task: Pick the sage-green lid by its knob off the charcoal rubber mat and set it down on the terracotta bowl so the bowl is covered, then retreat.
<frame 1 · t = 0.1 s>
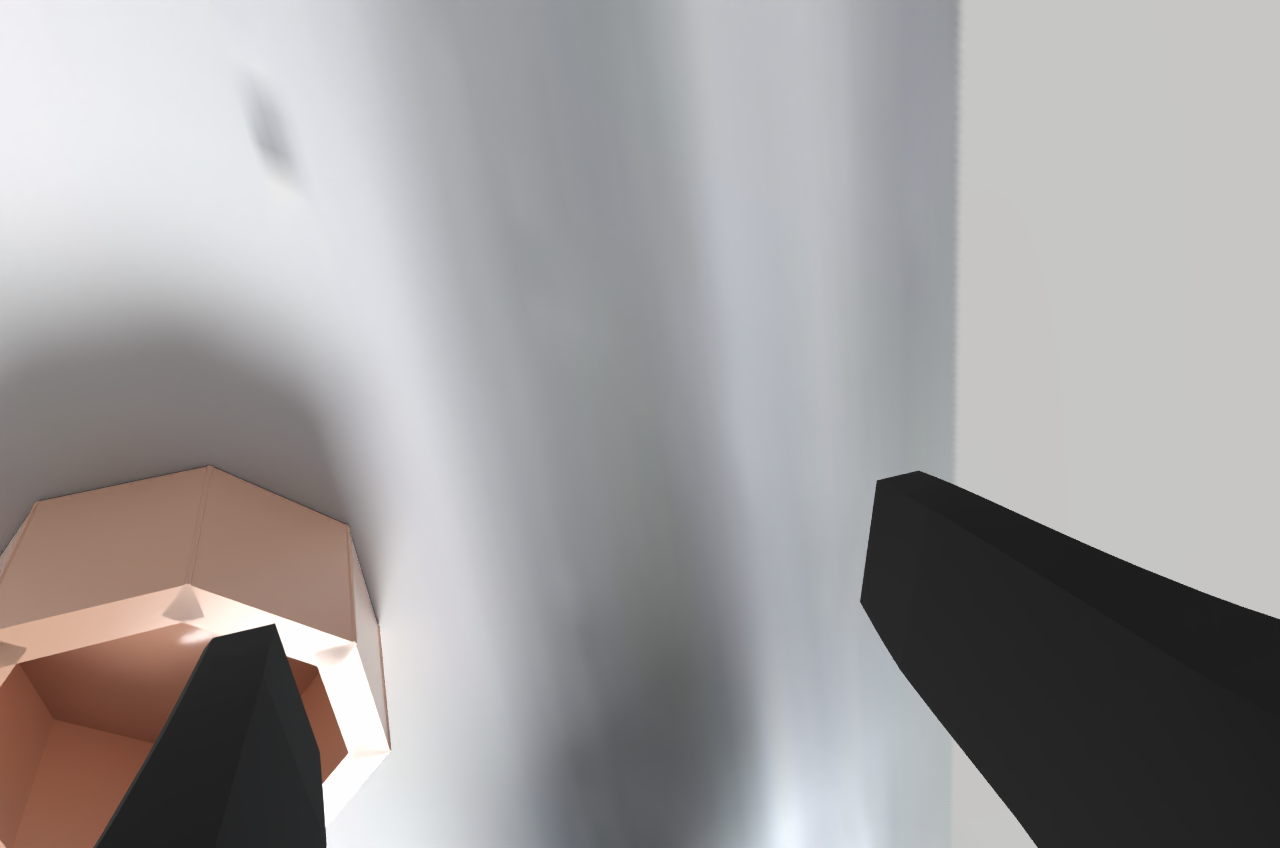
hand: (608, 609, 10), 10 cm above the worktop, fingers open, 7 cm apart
bowl: (189, 621, 20), on the worktop
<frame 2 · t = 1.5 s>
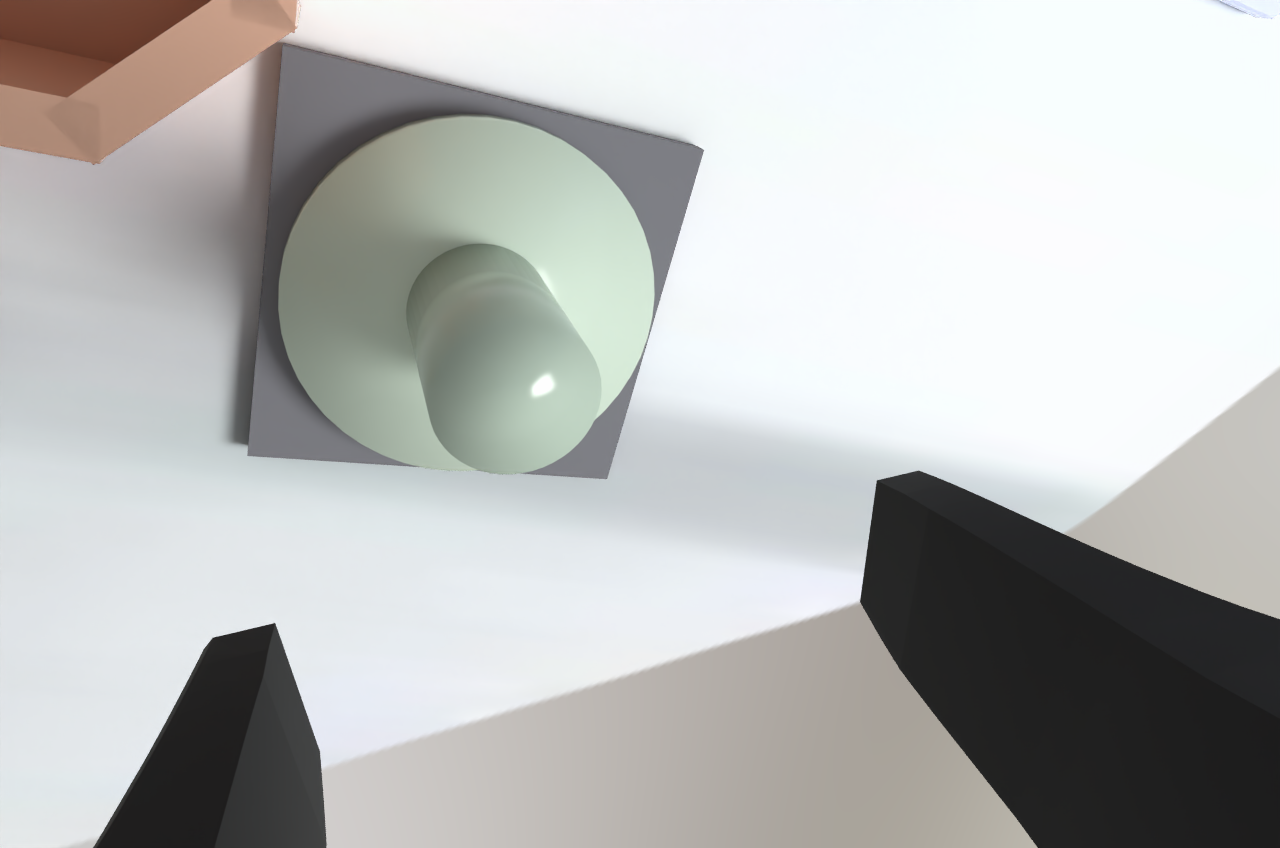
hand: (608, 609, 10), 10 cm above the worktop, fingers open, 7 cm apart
mat: (472, 296, 18), on the worktop
lid: (475, 302, 18), resting on mat
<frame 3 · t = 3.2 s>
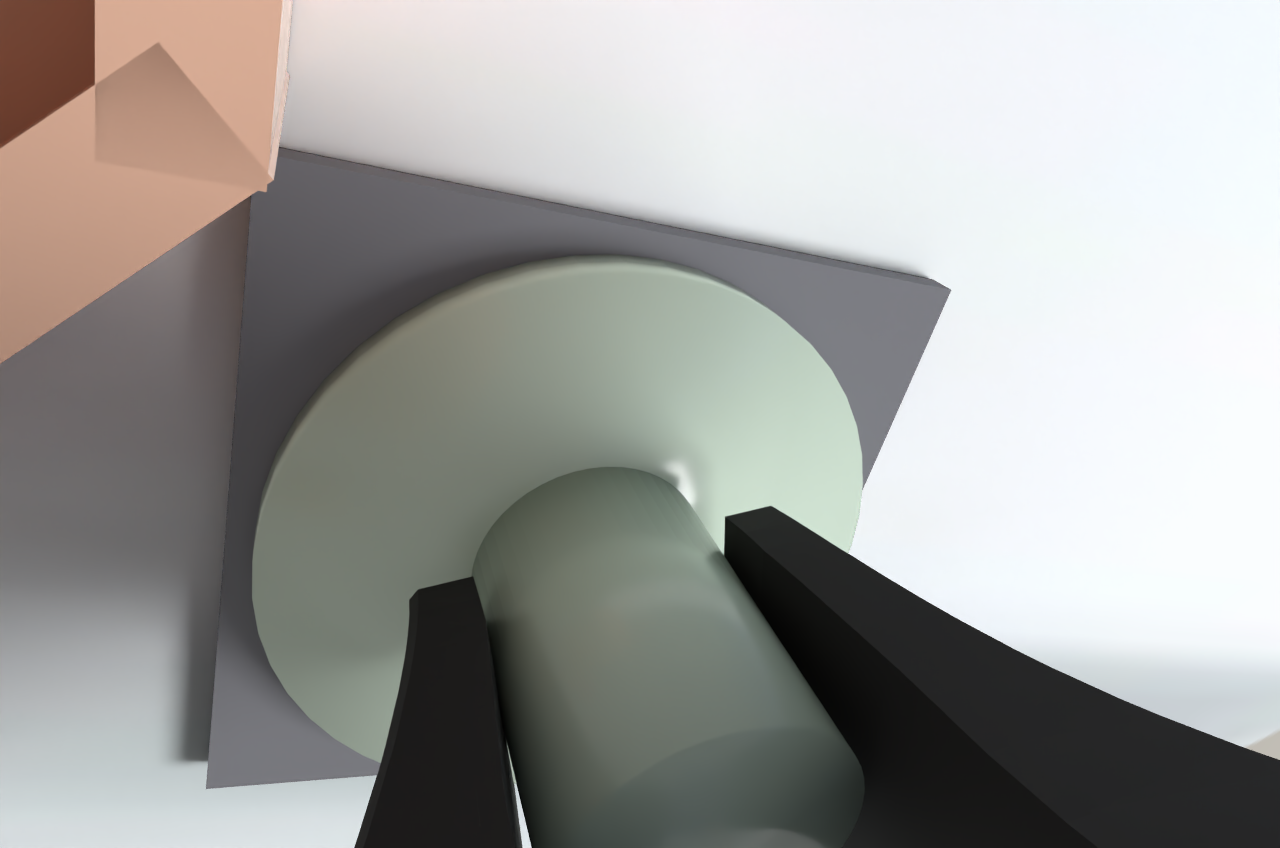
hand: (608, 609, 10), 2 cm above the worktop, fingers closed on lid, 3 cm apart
mat: (570, 522, 11), on the worktop
lid: (578, 539, 11), resting on mat, touching gripper
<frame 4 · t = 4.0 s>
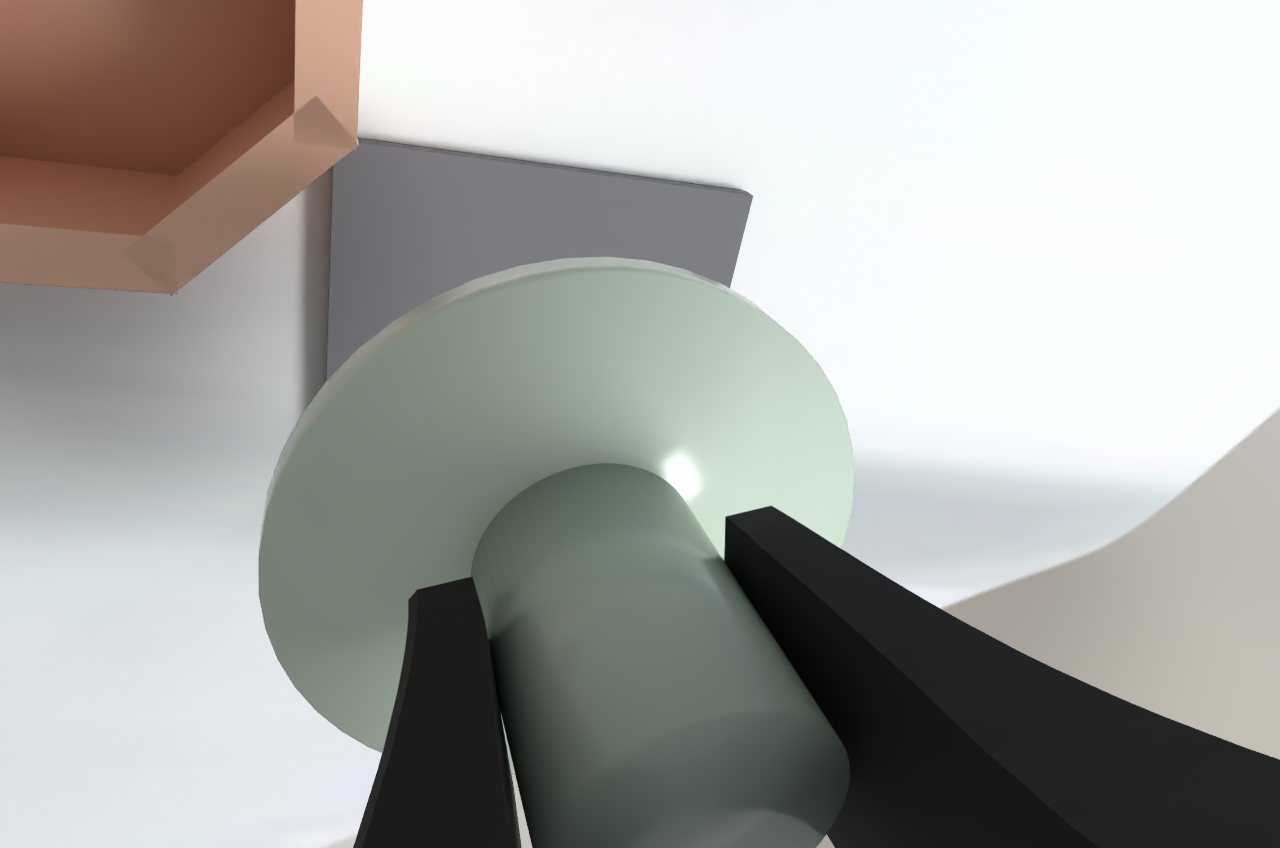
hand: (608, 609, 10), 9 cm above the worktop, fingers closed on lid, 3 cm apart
mat: (530, 358, 19), on the worktop
lid: (575, 535, 11), point 8 cm above the worktop, touching gripper
when the fingers open (6 cm above the worktop, at t = 5.3 s): lid stays where it is, resting on bowl.
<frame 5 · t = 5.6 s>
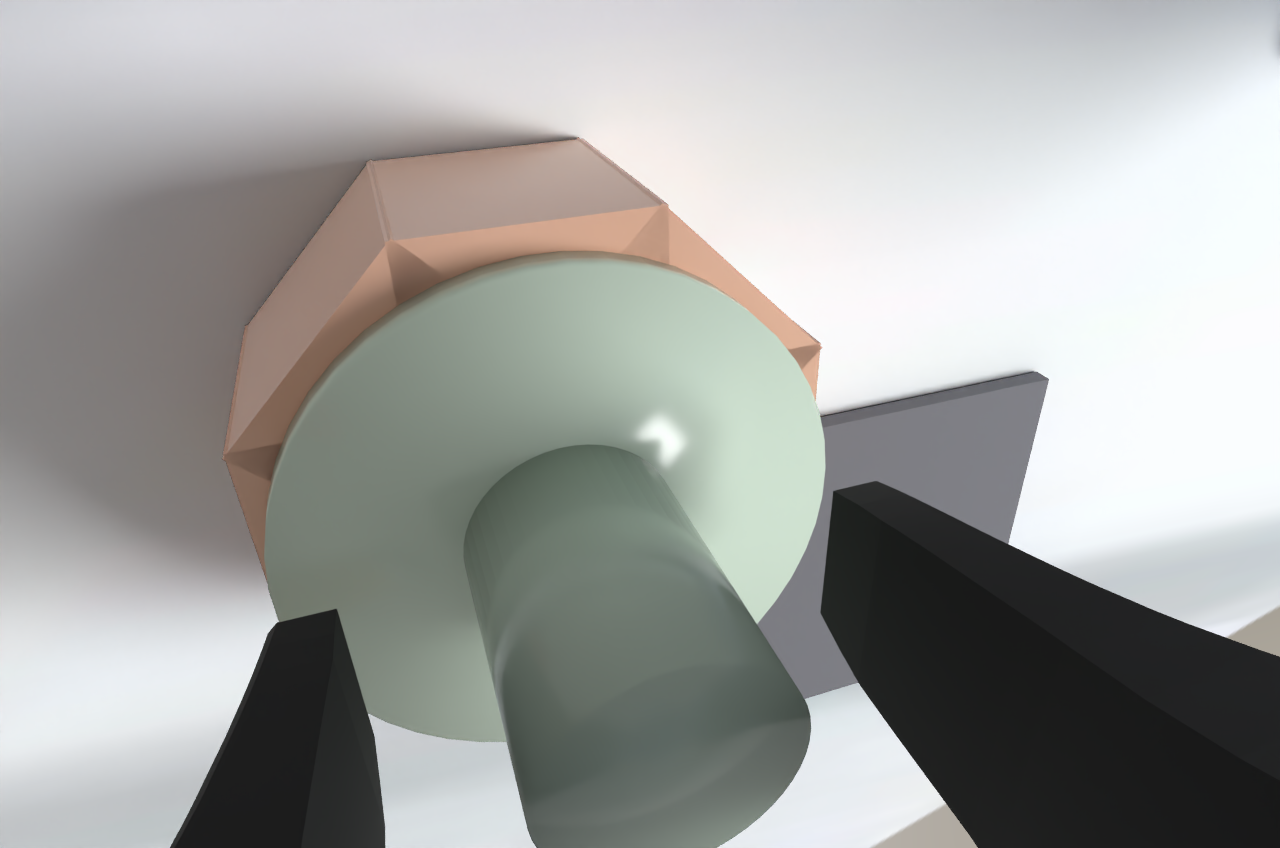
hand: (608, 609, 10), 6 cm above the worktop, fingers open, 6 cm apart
mat: (859, 553, 21), on the worktop
bowl: (506, 376, 15), on the worktop
lid: (562, 513, 12), point 4 cm above the worktop, touching bowl
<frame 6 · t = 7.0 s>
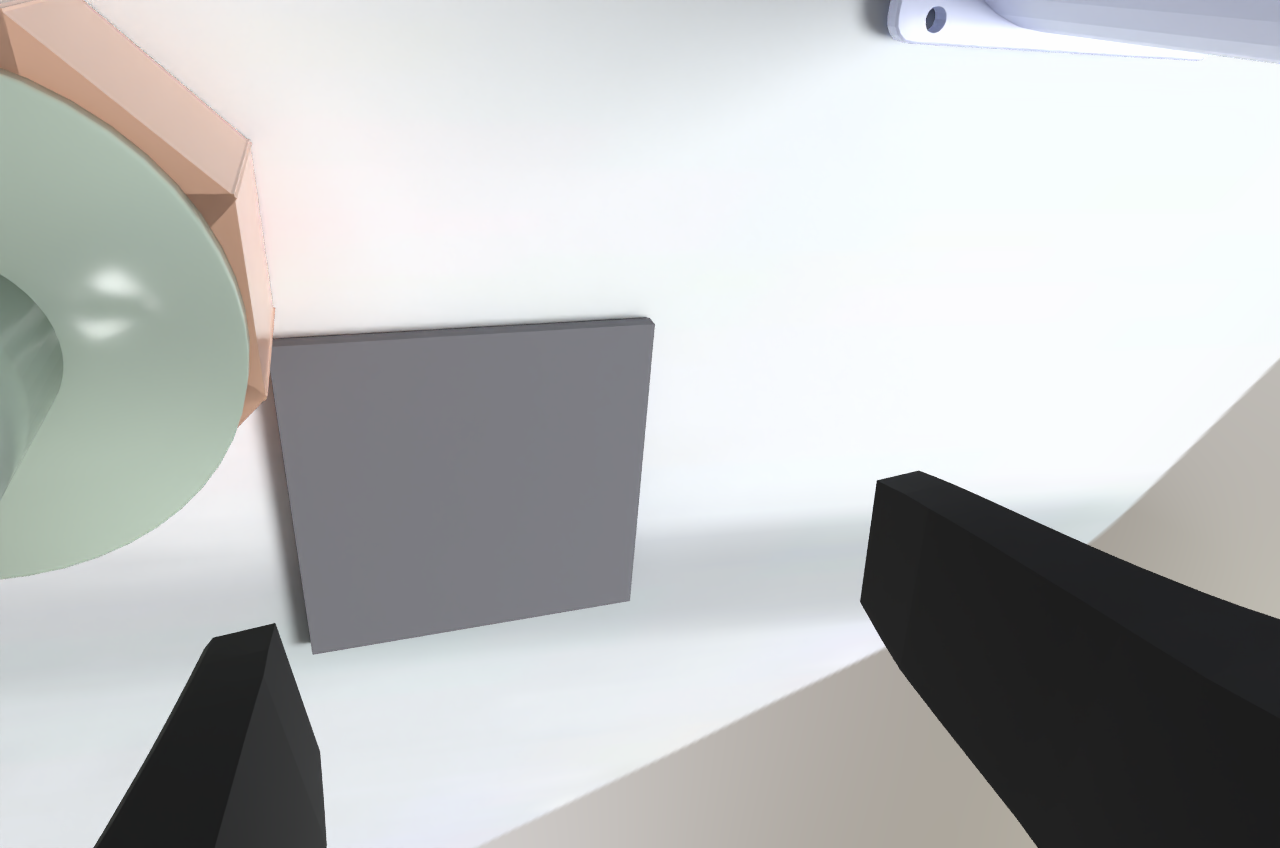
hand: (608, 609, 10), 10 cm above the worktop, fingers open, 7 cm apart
mat: (475, 486, 21), on the worktop
bowl: (19, 234, 15), on the worktop
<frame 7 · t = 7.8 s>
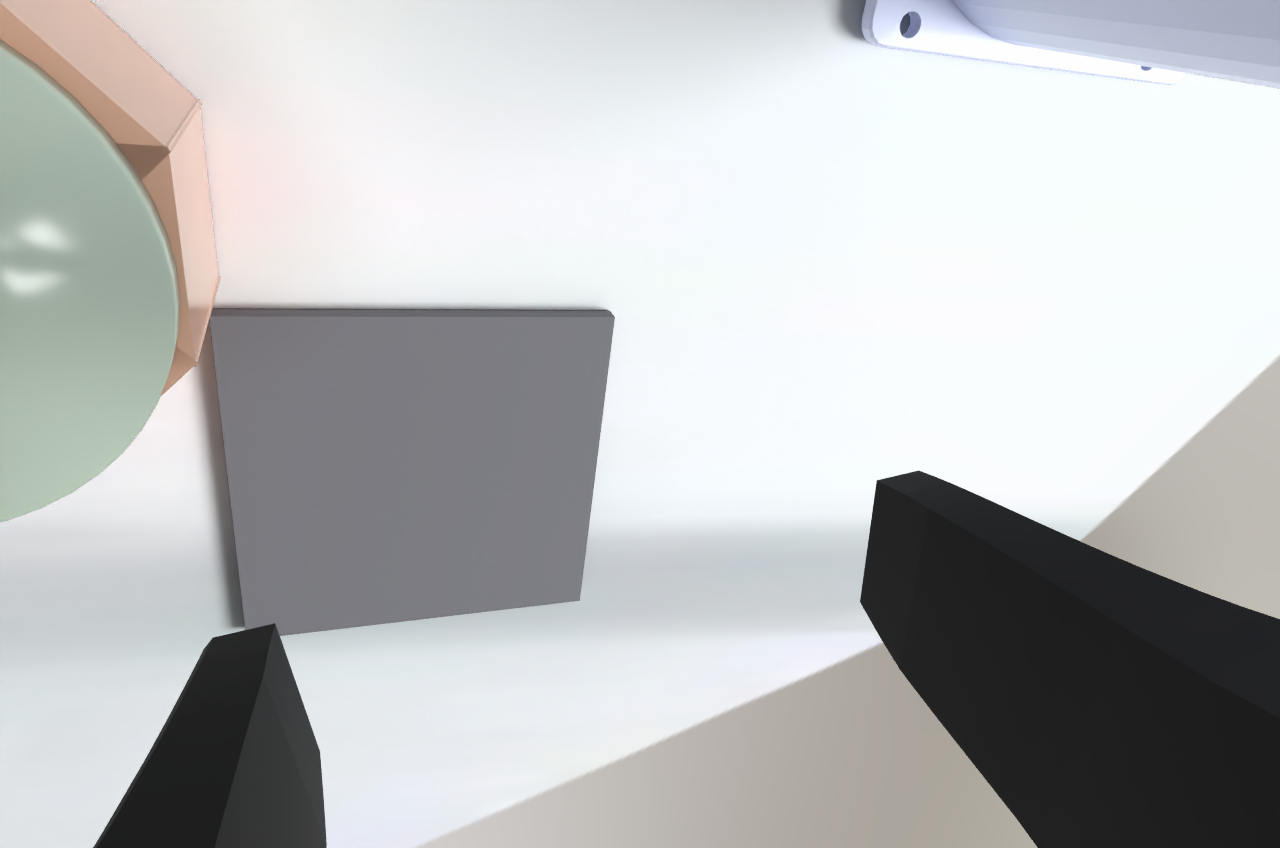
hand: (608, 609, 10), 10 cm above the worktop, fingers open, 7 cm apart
mat: (423, 473, 20), on the worktop
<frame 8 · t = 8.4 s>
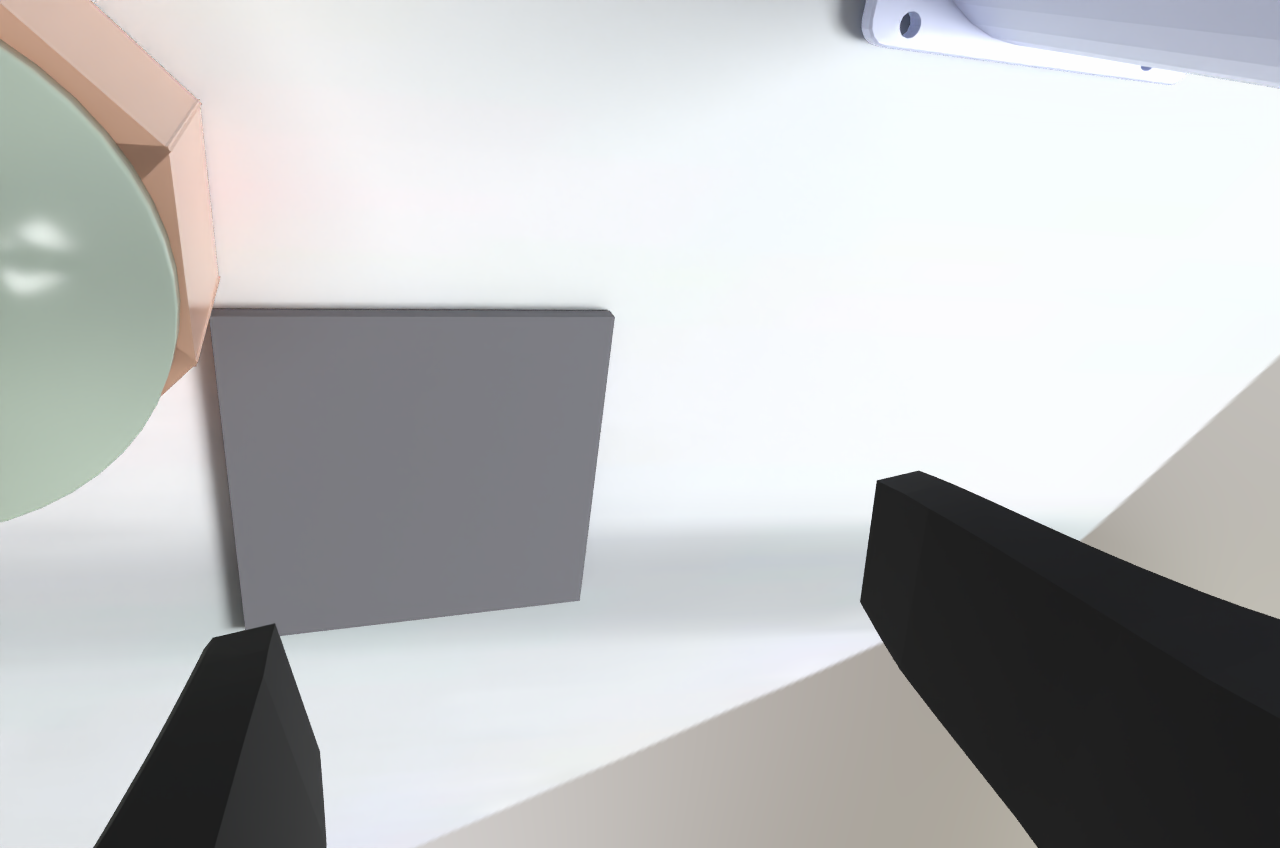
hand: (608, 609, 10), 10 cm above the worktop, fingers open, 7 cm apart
mat: (423, 473, 20), on the worktop
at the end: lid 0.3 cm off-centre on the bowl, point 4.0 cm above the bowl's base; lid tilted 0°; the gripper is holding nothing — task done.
